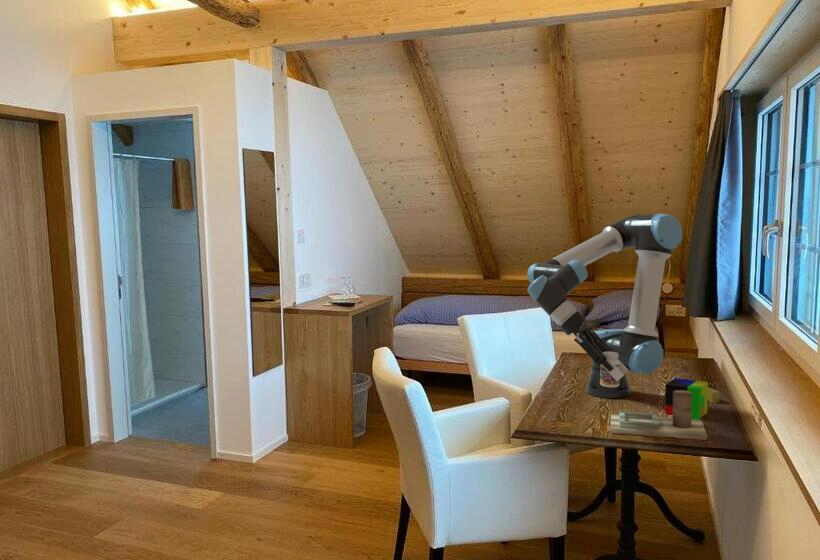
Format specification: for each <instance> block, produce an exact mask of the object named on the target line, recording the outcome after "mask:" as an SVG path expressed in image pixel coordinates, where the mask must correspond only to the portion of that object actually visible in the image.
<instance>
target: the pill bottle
mask: <svg viewBox="0 0 820 560" xmlns="http://www.w3.org/2000/svg"><path fill="white" fill-rule="evenodd" d="M603 354H604V356H605V357H606V358H607V359H609V360H610V361H611V362H612V363H613V364H614V365H615V366H616V367H617V368H618V369H619V370H620V362H619V361H618V360H617V359H618V357H619V356H618V353H616V352H603ZM600 384H601V385H602V386H604V387H618V386H619V385H620V379H619V380H618V381H616V380H615V379H614V378H613V377H612V376H611V374H610V373H609V372H608V371H607V370H606V369H605V368H604V367H603V366H602V365H600Z"/></svg>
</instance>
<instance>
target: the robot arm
mask: <svg viewBox="0 0 820 560" xmlns="http://www.w3.org/2000/svg"><path fill="white" fill-rule="evenodd" d="M682 239H683V229H682V226H681V223H680V222H679V220H678V219H677V217H675V216H673V215H672V214H667V213H660V212H658V213H646V214H645V213H644V214H643V213H641V214H639V213H638V214H632V215H629V216H626V217H624V218H622V219H620V220H618V221H615V222H614V223H612V224H609V225H607V226H606V227H604V228H603V229H602V232H601V233H599V234H597V235H595V236H592V237H591V238H588V239H587V240H585V241H583V242H582V243H579V244H578V245H576V246H573V247H572V248H570V249H567V250H566V251H564V252H563V253H560V254H558V255H556V256H554V257H553V258H550V259H548V260H546V261H545V262H543V263H542V262H538V263H533V264H531V265H530V266H529V267H528V270H527V279H528V281H529V283H530V284H529V285H528V286H527V287H528V288H527V293H528V294H529V296H530V297H531V299H533V301H534V302H536V304H538V306H539V307H540V308H541V309H543V311H544V312H545V313H546V314H547V315H548V316H549V317H550V318H551V321H552V322H555V323H556V325H558V326H560V329H561V330H562V331H563V332H564V334H565V335H567V336H570V335H571V334H573V335H574V336H575V338H574V342H575V343H577V344H578V345H579V346H580V347H581V348H582V349H583V351H584V352H585V353H586V354H587V355H588V356H589V357H590V358H591V371H590V375H589V379H588V380H587V384H586V393H588V395H591V396H593V397H599V398H606V399H619V398H621V399H622V398H625V397H629V396H630V395H631V386H630V382H629V378H628V376H627V373H628V372H629V371H630V372H632V373H635V374H642V375H648V374H651V373H653V372H655V371H656V370H657V369H659V367H660V365H661V364H662V361H663V359H664V349H663V345H662V344H661V343H660V342H658V340H659V335H658V333H657V331H656V329H655V328H656V323H657V317H658V310H659V304H660V298H661V290H662V283H663V278H664V274H665V273H664V271H665V266H666V260H668V259H669V258H670V257H671V256H672V252H673V250H674V249H676V248H677V247H678V246H679V245H680V244H681V242H682ZM630 248H633V249H634V248H635V249H634V252H635V254H637V256H638V260H637V267H636V272H635V280H634V286H633V293H632V298H631V305H630V311H629V317H628V322H627V324H628V325H627V326H626V327H625V328H610V329H609V328H608V329H607V328H606V329H599V330H594V329H593V327H587V326H585V324H584V323H585V322H586V320H587V318H586V317H585V316H584V315H583V314H582V313H581V312H580V311H577V308H576V306H575V305H574V304H573V303H572V302H570V301H569V299H568V298H566V296H567V295H568V294H570V292H572V291H573V290H575V289H576V288H577V287H578V286H579V285H582V283H583V282H584V281H585V280H586V279H587V278H588V275H589V273H588V270H587V268H586V267H587V266H588V265H590V264H591V263H593V262H595V261H597V260H598V259H602V258H603V257H604V256H607V255H608V254H610V253H613V252H614V253H618V252H620V251H622V250H624V249H630ZM603 352H616V353H618V356H619V357H618V359H617V360H618V361H619V362H620V370H619V369H618V368H617V367H616V366H615V365H614V364H613V363H612V362H611V361H610V360H609V359H607V358H606V357H605V356H604V354H603ZM600 365H602V366H603V367H604V368H605V369H606V370H607V371H608V372H609V373H610V374H611V376H612V377H613V378H614V379H615V380H616V381H618V380H619V379H620V385H619V386H618V387H604V386H602V385H601V384H600Z"/></svg>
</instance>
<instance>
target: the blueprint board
mask: <svg viewBox="0 0 820 560" xmlns="http://www.w3.org/2000/svg"><path fill="white" fill-rule="evenodd" d="M691 399H692V393H691V392H689V391H684V390H676V391H673V416H672V417H662V416H661V417H660V416H658V413H650V412H633V411H619V412H618V414H615V413H611V414H610V434H616V435H617V434H618V435H630V436H632V435H633V436H643V435H644V436H645V437H646V436H647V437H657V438H671V437H675V438H676V439H686V440H687V439H690V440H699V441H702V440H703V441H708V433H707V431H706V429H705V427H704V424H703V422H702V419H699V420H695V419H691ZM644 436H643V437H644ZM675 438H674V439H675Z"/></svg>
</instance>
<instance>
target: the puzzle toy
mask: <svg viewBox="0 0 820 560" xmlns="http://www.w3.org/2000/svg"><path fill="white" fill-rule="evenodd" d="M708 383H709V382H708V381H701V380H694V379H687V378H679V377H674V378H673V379H672V380H670V381H669V382H667V383H665V387H664V388H665V389H664V390H665V394H664V395H665V397H664V398H665V399H664V400H665V401H664V403H665V404H664V405H665V407H664V415H665V414H668V415H667V416H669V415H673V391H676V390H684V391H689V392H691V393H692V399H691V419H696V420H701V419H702V418H703V417H704V416H703V415H706V414H708V401H707V395H708V388H709V387H708V385H709V384H708ZM702 416H703V417H702Z"/></svg>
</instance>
